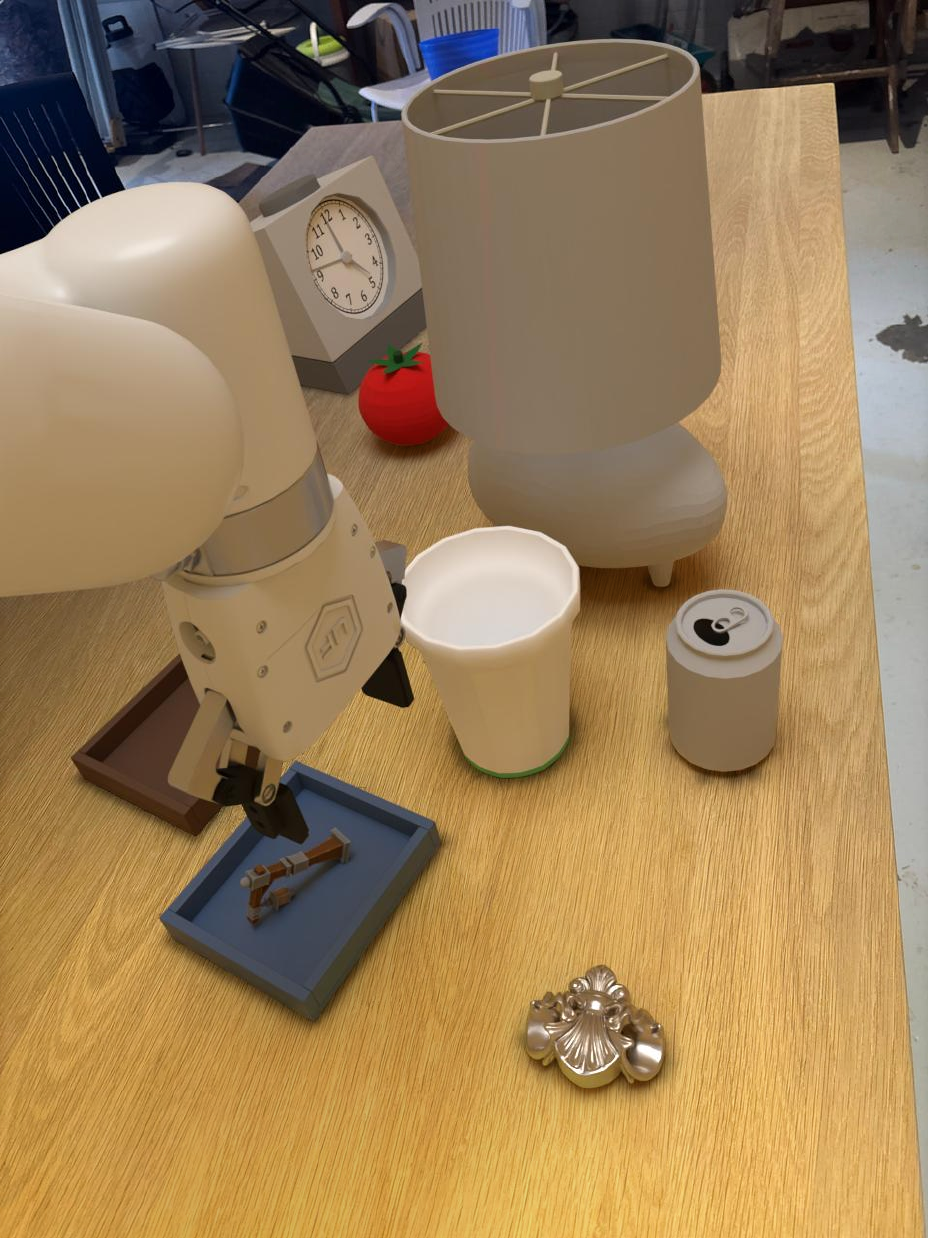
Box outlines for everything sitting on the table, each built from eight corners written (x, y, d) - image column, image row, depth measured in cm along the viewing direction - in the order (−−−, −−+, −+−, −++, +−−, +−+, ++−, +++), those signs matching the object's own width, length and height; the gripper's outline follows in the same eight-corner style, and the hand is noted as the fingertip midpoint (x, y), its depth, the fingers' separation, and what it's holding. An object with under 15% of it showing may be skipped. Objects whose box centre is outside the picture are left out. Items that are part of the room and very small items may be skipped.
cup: (500, 654, 84) (471, 505, 74) (629, 713, 78) (617, 558, 67) (400, 755, 78) (354, 607, 68) (531, 829, 71) (502, 677, 61)
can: (648, 728, 76) (642, 610, 68) (730, 685, 78) (734, 565, 70) (711, 796, 71) (712, 677, 63) (798, 748, 73) (810, 626, 65)
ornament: (672, 994, 61) (671, 964, 59) (657, 1111, 56) (655, 1083, 54) (541, 971, 64) (535, 941, 61) (516, 1081, 59) (508, 1053, 56)
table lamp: (772, 525, 91) (799, 20, 64) (662, 688, 79) (639, 151, 52) (549, 470, 102) (493, 23, 76) (424, 605, 90) (305, 130, 64)
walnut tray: (195, 836, 76) (183, 815, 74) (83, 778, 82) (69, 757, 80) (316, 701, 84) (308, 679, 82) (206, 657, 90) (196, 636, 88)
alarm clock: (348, 394, 120) (303, 223, 106) (248, 374, 127) (194, 212, 114) (441, 312, 132) (411, 148, 118) (344, 298, 139) (305, 143, 126)
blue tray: (314, 1022, 63) (303, 1002, 62) (171, 938, 70) (158, 917, 68) (441, 843, 72) (435, 821, 70) (304, 781, 78) (295, 760, 76)
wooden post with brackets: (230, 919, 68) (234, 866, 66) (328, 875, 73) (335, 824, 71) (245, 936, 67) (249, 882, 65) (344, 890, 72) (350, 839, 70)
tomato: (479, 414, 112) (464, 331, 105) (438, 469, 106) (420, 384, 99) (395, 405, 116) (377, 324, 110) (351, 458, 110) (328, 375, 103)
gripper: (166, 663, 36) (295, 920, 48) (424, 407, 46) (480, 670, 58) (27, 611, 40) (179, 863, 51) (295, 383, 50) (372, 636, 61)
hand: (338, 761), depth 54 cm, fingers open, 9 cm apart
